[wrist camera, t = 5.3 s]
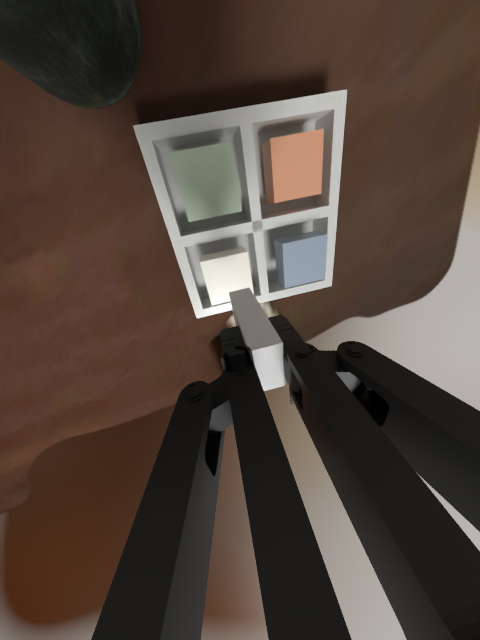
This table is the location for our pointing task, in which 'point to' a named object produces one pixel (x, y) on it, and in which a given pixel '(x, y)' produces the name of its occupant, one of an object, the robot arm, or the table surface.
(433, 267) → the table surface
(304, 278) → the key slate
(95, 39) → the mug
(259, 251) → the frame
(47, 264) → the table surface
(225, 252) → the key ivory
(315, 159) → the key terracotta
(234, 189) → the key sage
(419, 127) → the table surface
